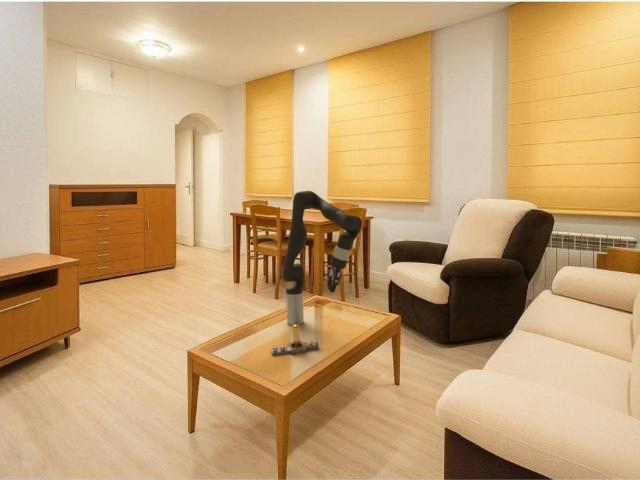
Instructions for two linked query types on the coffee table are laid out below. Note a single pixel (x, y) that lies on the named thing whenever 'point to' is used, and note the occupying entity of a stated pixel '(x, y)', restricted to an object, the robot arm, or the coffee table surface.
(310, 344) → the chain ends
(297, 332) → the pin
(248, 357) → the coffee table surface
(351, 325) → the coffee table surface
